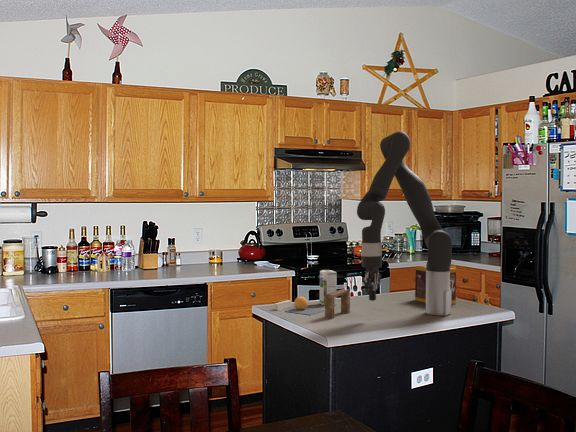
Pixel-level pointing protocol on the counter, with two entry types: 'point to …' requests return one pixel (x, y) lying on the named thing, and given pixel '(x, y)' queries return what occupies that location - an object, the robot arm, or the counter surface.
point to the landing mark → (306, 311)
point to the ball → (300, 303)
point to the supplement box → (421, 284)
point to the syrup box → (327, 284)
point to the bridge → (330, 302)
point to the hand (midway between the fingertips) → (372, 300)
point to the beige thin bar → (283, 305)
